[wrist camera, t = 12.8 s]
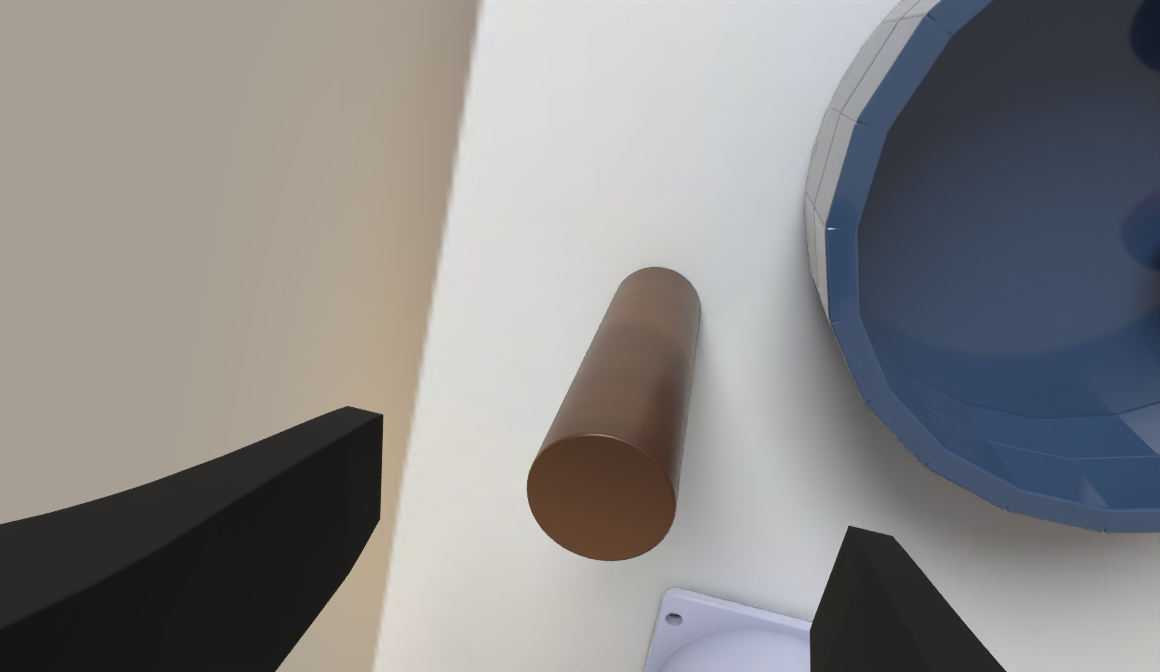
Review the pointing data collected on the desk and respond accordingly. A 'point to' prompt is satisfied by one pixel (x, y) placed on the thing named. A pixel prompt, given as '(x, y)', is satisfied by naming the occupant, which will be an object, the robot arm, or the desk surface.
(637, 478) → the stirring stick
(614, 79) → the desk surface
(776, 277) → the desk surface
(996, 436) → the bowl
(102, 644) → the robot arm
